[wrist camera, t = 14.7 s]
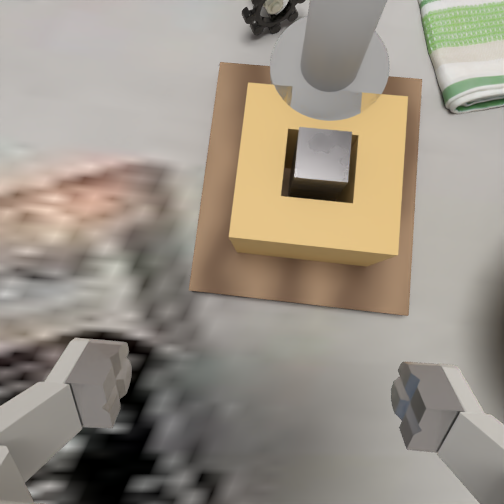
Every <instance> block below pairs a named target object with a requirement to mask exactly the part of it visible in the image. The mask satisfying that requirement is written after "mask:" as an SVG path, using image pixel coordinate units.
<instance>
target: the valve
mask: <svg viewBox="0 0 504 504" xmlns="http://www.w3.org/2000/svg"><path fill="white" fill-rule="evenodd" d="M251 1H252V3H253V4H254V6H253V9H252V10H248V8H247V7H245V8H244V9H243V10H242V16H243V18H244V20H245V22H246V23H247V24H250V27H251V29H252V31H253V33H254V35H259V34H261V33H262V31H263V28H265V27H269V30H270V32H271V33H272V34H275V33H277V32H278V31H279V30H280V23H281V22H282V21H283V20H285V19H288V20H289V21H294V20H295V19H296V18H297V17H298V12H297V10H296V8H295V5H296V4H297V3H303V2H304V1H305V0H289V2H288V4H287V5H286V7H285V8H284V9H283V10H282V11H281V12H280V13H279V14H277V15H275V14H276V13H277V12H279V11H280V10H281V9H282V7H283V0H251ZM262 6H264V7H265V8H266V10H267V13H268V15H269V18H264V17H262V16H260V11H261V8H262ZM254 20H255V21H256V23H253V22H254Z"/></svg>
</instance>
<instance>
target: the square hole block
mask: <svg viewBox="0 0 504 504" xmlns="http://www.w3.org/2000/svg"><path fill="white" fill-rule="evenodd" d="M386 2H387V0H310V3H309V10H308V16H305V17H303V18H301V19H299V20H297V21H296V22H294V23H293V24H291V25H290V26H289V27H288V28H287V29H286V30H285V31H284V32H283V33H282V34H281V36H280V37H279V38H278V40H277V42H276V44H275V46H274V48H273V51H272V55H271V62H270V80H271V84H260V83H248V87H247V95H246V103H245V111H244V119H243V127H242V135H241V143H240V151H239V159H238V167H237V175H236V183H235V191H234V198H233V206H232V214H231V222H230V230H229V239H230V240H231V242H232V244H233V246H234V248H235V250H236V251H237V252H239V253H248V254H257V255H266V256H275V257H284V258H293V259H302V260H311V261H321V262H330V263H339V264H348V265H357V266H366V267H367V266H370V265H373V264H375V263H378V262H381V261H384V260H386V259H389V258H392V257H395V256H398V249H399V233H400V217H401V201H402V186H403V170H404V154H405V138H406V122H407V106H408V96H397V95H386V94H382V92H383V90H384V88H385V86H386V84H387V80H388V77H389V56H388V53H387V49H386V47H385V45H384V43H383V41H382V39H381V38H380V36H379V35H378V34H377V33H376V31H375V29H376V26H377V24H378V22H379V19H380V17H381V14H382V12H383V9H384V7H385V4H386ZM299 127H306V128H317V129H328V130H339V131H349V132H352V139H351V152H350V164H349V176H348V183H347V185H346V186H345V187H344V189H343V190H342V192H341V193H340V195H339V196H338V198H337V199H336V200H335V202H334V201H324V200H314V199H305V198H295V197H285V196H281V190H282V181H283V172H284V168H289V169H291V166H292V161H293V156H294V151H295V146H296V141H297V136H298V131H299Z"/></svg>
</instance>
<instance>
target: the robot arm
mask: <svg viewBox="0 0 504 504" xmlns="http://www.w3.org/2000/svg"><path fill="white" fill-rule="evenodd" d="M128 352H129V349H128V344H127V343H125V342H118V341H107V340H97V339H83V338H74V339H73V340H72V341H70V343H69V344H68V346H67V347H66V349H65V351H64V352H63V354H62V355H61V357H60V358H59V360H58V361H57V363H56V364H55V366H54V368H53V369H52V371H51V372H50V374H49V375H48V377H47V378H46V380H45V381H44V382H38V383H36V384H35V385H33V386H31V387H30V388H28V389H27V390H25V391H24V392H22V393H20V394H19V395H17V396H16V397H14V398H12V399H11V400H9V401H8V402H6V403H5V404H3V405H1V406H0V504H45V503H34V502H33V498H32V496H31V494H30V492H29V490H28V488H27V486H26V484H25V482H26V481H27V480H28V479H29V478H30V477H32V476H33V475H34V474H35V473H36V472H37V471H38V470H39V469H40V468H41V467H42V466H43V465H44V464H45V463H46V462H48V461H49V460H50V459H51V458H52V457H53V456H54V455H55V454H56V453H57V452H58V451H59V450H60V449H61V448H62V447H64V446H65V445H66V444H67V443H68V442H69V441H70V440H71V439H72V438H73V437H74V436H75V435H76V434H77V433H78V432H80V431H81V430H82V427H93V428H113V426H114V423H115V421H116V418H117V416H118V413H119V411H120V408H121V406H120V400H119V399H120V398H122V397H123V396H124V395H126V393H127V390H128V388H129V385H130V380H131V370H132V368H131V362H130V361H129V360H128V359H127V358H126V357H127V355H128ZM398 372H399V375H400V377H399V378H397V379H396V380H394V382H393V385H392V388H391V401H392V406H393V410H394V413H395V414H396V415H397V416H398V417H399V418H400V419H401V420H402V422H401V425H400V427H399V428H400V431H401V434H402V437H403V440H404V443H405V446H406V449H407V450H416V451H426V452H435V453H437V455H438V456H439V457H440V458H441V460H442V461H443V462H444V463H445V464H446V465H447V466H448V468H449V469H450V470H451V471H452V472H453V473H454V474H455V475H456V477H457V478H458V479H459V480H460V481H461V482H462V483H463V485H464V486H465V487H466V488H467V489H468V490H469V491H470V493H471V494H472V495H473V496H474V497H475V498H476V499H477V501H478V502H479V503H480V504H504V424H503V423H501V422H500V421H499V420H497V419H496V418H495V417H494V416H492V415H491V414H485V412H484V411H483V409H482V407H481V405H480V404H479V402H478V400H477V398H476V397H475V395H474V393H473V391H472V390H471V388H470V386H469V385H468V383H467V381H466V379H465V378H464V376H463V374H462V372H461V371H460V369H459V368H458V367H457V366H456V365H448V364H433V363H417V362H402V363H401V364H400V366H399V369H398Z"/></svg>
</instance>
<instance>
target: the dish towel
mask: <svg viewBox="0 0 504 504" xmlns="http://www.w3.org/2000/svg"><path fill="white" fill-rule="evenodd" d="M418 2H419V5H420V9H421V17H422V23H423V28H424V34H425V39H426V43H427V49H428V53H429V56H430V58H431V61H432V64H433V66H434V69H435V73H436V77H437V80H438V83H439V86H440V89H441V91H442V93H443V98H444V102H445V106H446V108H448V109H450V111H451V112H453V113H455V114H462V113H467V112H472V111H480V110H486V109H490V108H496V107H502V106H504V0H418Z"/></svg>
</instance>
